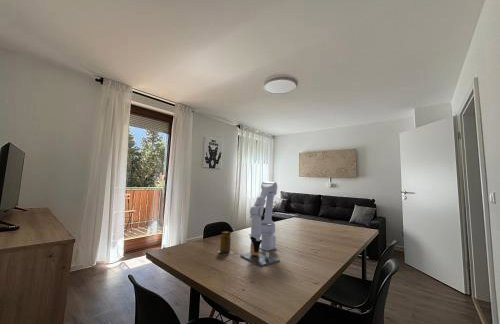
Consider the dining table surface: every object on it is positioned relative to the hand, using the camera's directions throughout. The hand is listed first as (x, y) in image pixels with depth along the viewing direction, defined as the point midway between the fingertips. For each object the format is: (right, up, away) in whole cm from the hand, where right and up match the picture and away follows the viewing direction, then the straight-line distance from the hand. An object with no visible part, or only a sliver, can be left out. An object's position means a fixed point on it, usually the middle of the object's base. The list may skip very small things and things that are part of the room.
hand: (255, 250), depth 124 cm
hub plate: (+2, -3, -3) cm, 5 cm away
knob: (0, -2, 0) cm, 2 cm away
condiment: (-18, -4, +6) cm, 19 cm away
